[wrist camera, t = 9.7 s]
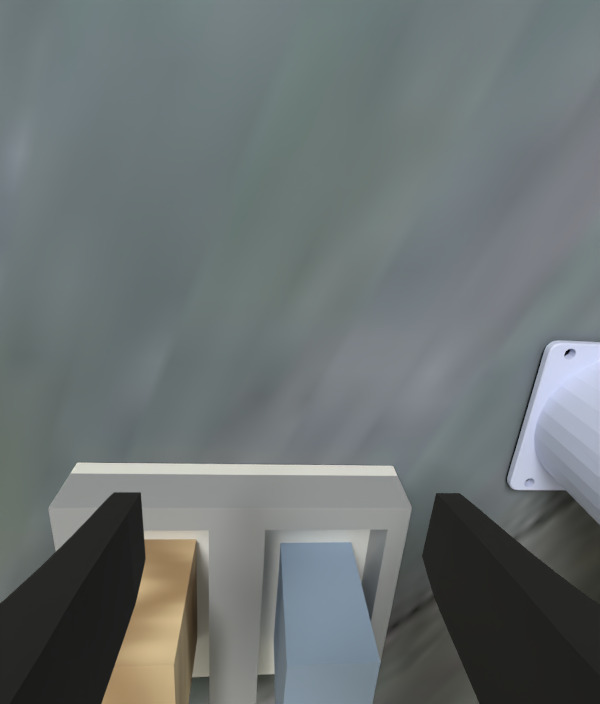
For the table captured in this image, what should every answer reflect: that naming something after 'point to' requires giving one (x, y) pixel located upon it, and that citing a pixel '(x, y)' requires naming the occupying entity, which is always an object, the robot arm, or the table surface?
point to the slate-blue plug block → (322, 628)
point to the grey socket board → (251, 543)
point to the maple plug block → (160, 629)
